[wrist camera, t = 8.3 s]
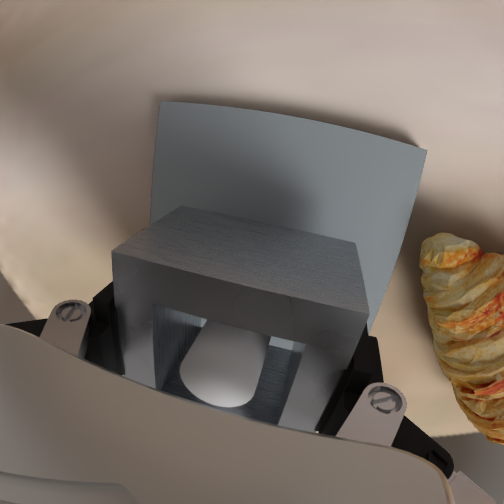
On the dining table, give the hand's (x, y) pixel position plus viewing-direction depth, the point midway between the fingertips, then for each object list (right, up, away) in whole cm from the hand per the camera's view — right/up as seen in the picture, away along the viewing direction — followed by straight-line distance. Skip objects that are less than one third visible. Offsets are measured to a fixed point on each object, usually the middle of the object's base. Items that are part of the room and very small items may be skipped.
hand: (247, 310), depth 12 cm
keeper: (+1, +1, +3) cm, 4 cm away
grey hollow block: (0, 0, +1) cm, 1 cm away
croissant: (+16, -3, +2) cm, 16 cm away
